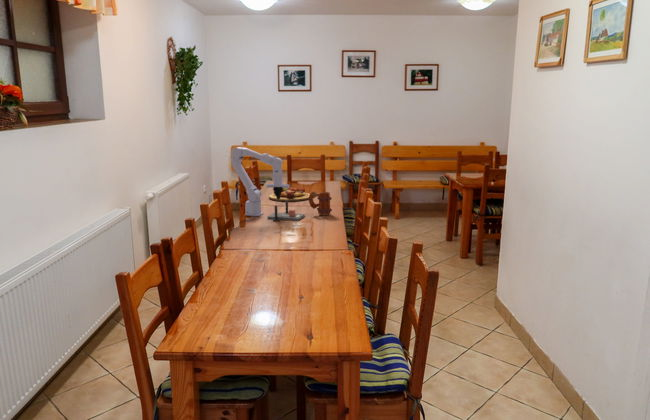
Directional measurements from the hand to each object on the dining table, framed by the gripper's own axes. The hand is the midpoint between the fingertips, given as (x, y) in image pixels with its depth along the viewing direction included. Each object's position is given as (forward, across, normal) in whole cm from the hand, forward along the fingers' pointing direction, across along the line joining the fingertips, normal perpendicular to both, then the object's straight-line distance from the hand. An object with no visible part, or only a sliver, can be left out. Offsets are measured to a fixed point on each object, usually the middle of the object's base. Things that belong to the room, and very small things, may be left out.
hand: (278, 199), depth 318 cm
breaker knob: (+9, +11, -5) cm, 15 cm away
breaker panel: (+10, +7, -5) cm, 13 cm away
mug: (+11, +25, +8) cm, 28 cm away
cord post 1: (+10, +4, -14) cm, 18 cm away
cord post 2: (+10, +4, +4) cm, 12 cm away
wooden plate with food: (+11, -14, +57) cm, 60 cm away
